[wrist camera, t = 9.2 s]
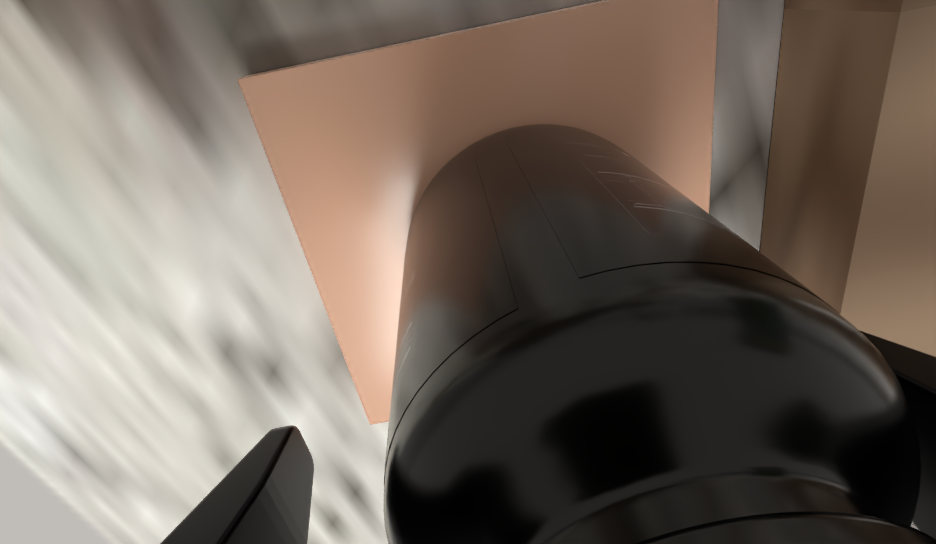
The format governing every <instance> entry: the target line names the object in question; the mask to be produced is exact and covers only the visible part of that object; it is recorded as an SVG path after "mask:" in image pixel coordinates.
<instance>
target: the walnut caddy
mask: <svg viewBox="0 0 936 544" xmlns="http://www.w3.org/2000/svg"><path fill="white" fill-rule="evenodd" d="M760 253H762V254H763V255H764V256H766V257H767V258H768V259H770V260H771V261H772V262H774V263H775V264H776V265H778V266H779V267H780V268H781V269H783V270H784V271H785V272H787V273H788V274H789V275H791V276H792V277H793V278H795V279H796V280H797V281H799V282H800V283H801V284H803V285H804V286H805V287H807V288H808V289H809V290H811V291H812V292H813V293H814V294H816V295H817V296H818V297H820V298H821V299H822V300H823V301H825V302H826V303H827V304H829V305H830V306H831V307H832V308H834V309H835V310H836V311H837V312H838V313H839V314H840V315H841V316H843V317H844V318H845V319H846V320H848V321H849V322H850V323H851V324H853V325H854V326H855V327H856V328H857V329H858V330H860V331H863V332H866V333H869V334H871V335H874V336H877V337H880V338H883V339H886V340H889V341H892V342H894V343H897V344H900V345H903V346H906V347H909V348H912V349H914V350H917V351H920V352H923V353H926V354H929V355H932V356H935V357H936V0H785V8H784V18H783V27H782V37H781V47H780V57H779V67H778V77H777V87H776V97H775V107H774V117H773V127H772V137H771V147H770V156H769V166H768V176H767V186H766V196H765V206H764V216H763V226H762V236H761V246H760Z"/></svg>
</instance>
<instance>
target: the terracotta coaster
mask: <svg viewBox="0 0 936 544" xmlns="http://www.w3.org/2000/svg"><path fill="white" fill-rule="evenodd" d="M717 22H718V0H602V1H597V2H592V3H588V4H583V5H578V6H573V7H569V8H564V9H559V10H554V11H550V12H545V13H540V14H536V15H531V16H526V17H521V18H517V19H512V20H507V21H502V22H498V23H493V24H488V25H483V26H479V27H474V28H469V29H464V30H460V31H455V32H450V33H445V34H441V35H436V36H431V37H427V38H422V39H417V40H412V41H408V42H403V43H398V44H393V45H389V46H384V47H379V48H374V49H370V50H365V51H360V52H355V53H351V54H346V55H341V56H336V57H332V58H327V59H322V60H318V61H313V62H308V63H303V64H299V65H294V66H289V67H284V68H280V69H275V70H270V71H265V72H261V73H256V74H251V75H248V76H245V77H243V78H240V79H238V82H239V85H240V87H241V90H242V93H243V95H244V98H245V100H246V103H247V106H248V108H249V111H250V113H251V116H252V119H253V121H254V124H255V126H256V129H257V132H258V134H259V137H260V140H261V142H262V145H263V147H264V150H265V153H266V155H267V158H268V160H269V163H270V166H271V168H272V171H273V173H274V176H275V179H276V181H277V184H278V186H279V189H280V192H281V194H282V197H283V199H284V202H285V205H286V207H287V210H288V212H289V215H290V218H291V220H292V223H293V225H294V228H295V231H296V233H297V236H298V238H299V241H300V244H301V246H302V249H303V251H304V254H305V257H306V259H307V262H308V264H309V267H310V270H311V272H312V275H313V277H314V280H315V283H316V285H317V288H318V290H319V293H320V296H321V298H322V301H323V303H324V306H325V309H326V311H327V314H328V316H329V319H330V322H331V324H332V327H333V329H334V332H335V335H336V337H337V340H338V342H339V345H340V348H341V350H342V353H343V355H344V358H345V361H346V363H347V366H348V368H349V371H350V374H351V376H352V379H353V381H354V384H355V387H356V389H357V392H358V394H359V397H360V400H361V402H362V405H363V407H364V410H365V413H366V415H367V418H368V420H369V423H370V425H371V424H376V423H382V422H388V421H389V417H390V407H391V396H392V385H393V375H394V364H395V354H396V343H397V333H398V322H399V311H400V301H401V290H402V280H403V269H404V259H405V251H406V243H407V237H408V232H409V227H410V224H411V220H412V217H413V214H414V211H415V209H416V206H417V204H418V202H419V200H420V198H421V196H422V194H423V192H424V190H425V189H426V187H427V186H428V185H429V183H430V182H431V180H432V179H433V178H434V176H435V175H436V174H437V173H438V172H439V171H440V169H441V168H442V167H443V166H444V165H445V164H447V163H448V162H449V161H450V160H451V159H452V158H453V157H454V156H456V155H457V154H458V153H459V152H461V151H462V150H464V149H465V148H467V147H468V146H470V145H471V144H473V143H475V142H477V141H479V140H481V139H483V138H485V137H487V136H489V135H492V134H494V133H497V132H500V131H503V130H507V129H510V128H514V127H520V126H525V125H535V124H555V125H564V126H570V127H574V128H579V129H582V130H585V131H588V132H591V133H593V134H596V135H598V136H600V137H602V138H604V139H606V140H608V141H610V142H611V143H613V144H615V145H616V146H618V147H620V148H621V149H622V150H624V151H625V152H627V153H628V154H630V155H631V156H633V157H634V158H635V159H637V160H638V161H639V162H641V163H642V164H643V165H645V166H646V167H647V168H649V169H650V170H651V171H653V172H654V173H655V174H657V175H658V176H659V177H661V178H662V179H663V180H665V181H666V182H667V183H669V184H670V185H671V186H673V187H674V188H675V189H677V190H678V191H679V192H681V193H682V194H683V195H685V196H686V197H687V198H688V199H690V200H691V201H692V202H694V203H695V204H696V205H698V206H699V207H700V208H702V209H703V210H704V211H706V212H707V213H708V214H709V201H710V178H711V156H712V134H713V111H714V89H715V67H716V44H717Z"/></svg>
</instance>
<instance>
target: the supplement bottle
mask: <svg viewBox="0 0 936 544" xmlns="http://www.w3.org/2000/svg"><path fill="white" fill-rule="evenodd" d="M920 482H921V456H920V446H919V438H918V434H917V431H916V427H915V423H914V419H913V415H912V412H911V408H910V406H909V403H908V401H907V398H906V396H905V394H904V392H903V389H902V387H901V385H900V383H899V381H898V379H897V377H896V375H895V373H894V372H893V370H892V369H891V367H890V366H889V364H888V363H887V361H886V360H885V358H884V357H883V356H882V354H881V353H880V352H879V350H878V349H877V348H876V347H875V346H874V345H873V344H872V343H871V342H870V341H869V340H868V339H867V337H866V336H865V335H864V334H863V333H861V332H860V331H859V330H858V329H857V328H856V327H855V326H854V325H853V324H851V323H850V322H849V321H848V320H846V319H845V318H844V317H843V316H841V315H840V314H839V313H838V312H837V311H836V310H835V309H834V308H832V307H831V306H830V305H829V304H827V303H826V302H825V301H823V300H822V299H821V298H820V297H818V296H817V295H816V294H814V293H813V292H812V291H811V290H809V289H808V288H807V287H805V286H804V285H803V284H801V283H800V282H799V281H797V280H796V279H795V278H793V277H792V276H791V275H789V274H788V273H787V272H785V271H784V270H783V269H781V268H780V267H779V266H778V265H776V264H775V263H774V262H772V261H771V260H770V259H768V258H767V257H766V256H764V255H763V254H762V253H760V252H759V251H758V250H756V249H755V248H754V247H752V246H751V245H750V244H748V243H747V242H746V241H744V240H743V239H742V238H740V237H739V236H738V235H736V234H735V233H734V232H732V231H731V230H730V229H728V228H727V227H726V226H724V225H723V224H722V223H720V222H719V221H718V220H716V219H715V218H714V217H712V216H711V215H710V214H708V213H707V212H706V211H704V210H703V209H702V208H700V207H699V206H698V205H696V204H695V203H694V202H692V201H691V200H690V199H688V198H687V197H686V196H685V195H683V194H682V193H681V192H679V191H678V190H677V189H675V188H674V187H673V186H671V185H670V184H669V183H667V182H666V181H665V180H663V179H662V178H661V177H659V176H658V175H657V174H655V173H654V172H653V171H651V170H650V169H649V168H647V167H646V166H645V165H643V164H642V163H641V162H639V161H638V160H637V159H635V158H634V157H633V156H631V155H630V154H628V153H627V152H625V151H624V150H622V149H621V148H620V147H618V146H616V145H615V144H613V143H611V142H610V141H608V140H606V139H604V138H602V137H600V136H598V135H596V134H593V133H591V132H588V131H585V130H582V129H579V128H574V127H570V126H564V125H555V124H535V125H525V126H520V127H514V128H510V129H507V130H503V131H500V132H497V133H494V134H492V135H489V136H487V137H485V138H483V139H481V140H479V141H477V142H475V143H473V144H471V145H470V146H468V147H467V148H465V149H464V150H462V151H461V152H459V153H458V154H457V155H456V156H454V157H453V158H452V159H451V160H450V161H449V162H448V163H447V164H445V165H444V166H443V167H442V168H441V169H440V171H439V172H438V173H437V174H436V175H435V176H434V178H433V179H432V180H431V182H430V183H429V185H428V186H427V187H426V189H425V190H424V192H423V194H422V196H421V198H420V200H419V202H418V204H417V206H416V209H415V211H414V214H413V217H412V220H411V224H410V227H409V232H408V237H407V243H406V251H405V259H404V269H403V280H402V290H401V301H400V311H399V322H398V333H397V343H396V354H395V364H394V375H393V385H392V396H391V407H390V417H389V428H388V439H387V450H386V462H385V476H384V520H385V529H386V535H387V539H388V543H389V544H936V539H935V538H933V537H931V536H929V535H928V534H926V533H924V532H922V531H919V530H917V529H915V528H912V527H910V526H911V523H912V521H913V518H914V515H915V510H916V506H917V502H918V497H919V493H920Z"/></svg>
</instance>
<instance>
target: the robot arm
mask: <svg viewBox="0 0 936 544" xmlns="http://www.w3.org/2000/svg"><path fill="white" fill-rule="evenodd" d="M859 331H860V330H859ZM860 332H861V333H863V334H864V335H865V336H866V337H867V339H868V340H869V341H870V342H871V343H872V344H873V345H874V346H875V347H876V348H877V349H878V350H879V352H880V353H881V354H882V356H883V357H884V358H885V360H886V361H887V363H888V364H889V366H890V367H891V369H892V370H893V372H894V373H895V375H896V377H897V379H898V381H899V383H900V385H901V387H902V389H903V392H904V394H905V396H906V398H907V401H908V403H909V406H910V408H911V412H912V415H913V419H914V423H915V427H916V431H917V434H918V438H919V446H920V456H921V482H920V493H919V497H918V502H917V506H916V510H915V515H914V518H913V521H912V522H913V523H914V524H915V525H916V527H917V528H918V529H919V530H920V531H922V532H924V533H926V534H928V535H929V536H931V537H933V538H935V539H936V357H935V356H932V355H929V354H926V353H923V352H920V351H917V350H914V349H912V348H909V347H906V346H903V345H900V344H897V343H894V342H892V341H889V340H886V339H883V338H880V337H877V336H874V335H871V334H869V333H866V332H863V331H860ZM313 474H314V464H313V459H312V456H311V454H310V452H309V449H308V447H307V445H306V443H305V441H304V439H303V437H302V435H301V433H300V431H299V429H298V428H297V427H296V426H286V427H280V428H275V429H272V430H271V431H269V432H268V433H267V434H266V435H265V436H264V437H263V438H262V439H261V440H260V441H259V442H258V443H257V445H256V446H255V447H254V448H253V449H252V450H251V451H250V452H249V453H248V454H247V455H246V456H245V457H244V458H243V459H242V460H241V461H240V462H239V463H238V464H237V465H236V466H235V467H234V468H233V469H232V470H231V471H230V472H229V473H228V474H227V475H226V477H225V478H224V479H223V480H222V481H221V482H220V483H219V484H218V485H217V486H216V487H215V488H214V489H213V490H212V491H211V492H210V493H209V494H208V495H207V496H206V497H205V498H204V499H203V500H202V501H201V502H200V503H199V504H198V505H197V506H196V507H195V509H194V510H193V511H192V512H191V513H190V514H189V515H188V516H187V517H186V518H185V519H184V520H183V521H182V522H181V523H180V524H179V525H178V526H177V527H176V528H175V529H174V530H173V531H172V532H171V533H170V534H169V535H168V536H167V537H166V538H165V539H164V541H163V542H162V543H161V544H307V540H308V529H309V518H310V507H311V496H312V485H313Z"/></svg>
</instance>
